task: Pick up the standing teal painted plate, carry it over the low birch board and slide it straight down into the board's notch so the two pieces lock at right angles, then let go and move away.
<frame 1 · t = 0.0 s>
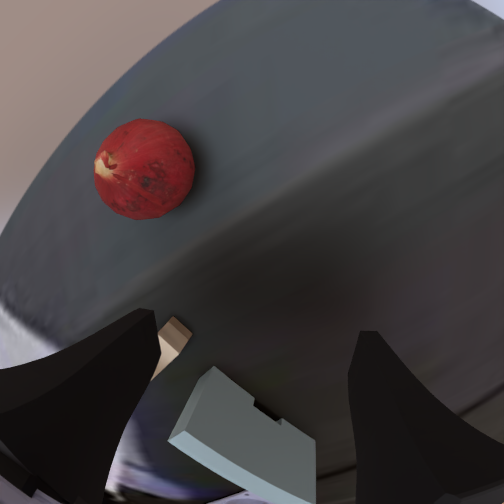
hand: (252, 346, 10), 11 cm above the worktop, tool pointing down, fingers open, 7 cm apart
teal plate: (260, 413, 23), on the worktop
onion: (170, 170, 20), on the worktop
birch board: (133, 375, 24), on the worktop
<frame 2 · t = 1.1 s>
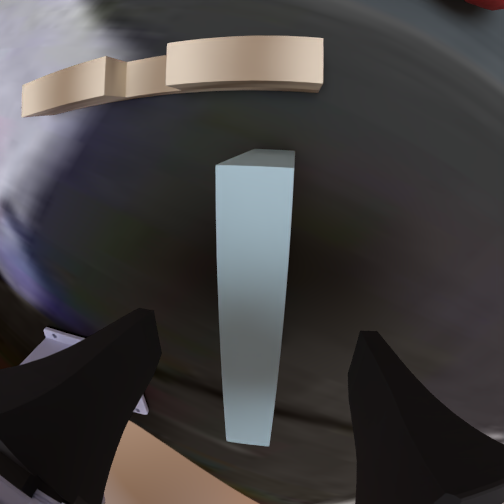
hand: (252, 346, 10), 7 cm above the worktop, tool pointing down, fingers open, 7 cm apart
teal plate: (270, 261, 17), on the worktop
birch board: (161, 77, 14), on the worktop
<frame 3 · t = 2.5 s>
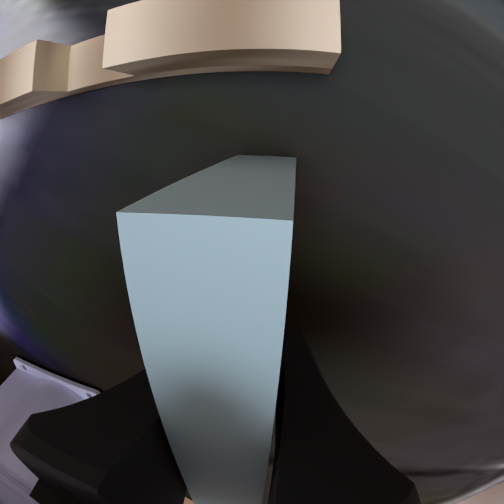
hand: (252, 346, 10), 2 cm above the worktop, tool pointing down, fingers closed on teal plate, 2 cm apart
teal plate: (261, 308, 12), on the worktop, touching gripper
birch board: (113, 62, 9), on the worktop
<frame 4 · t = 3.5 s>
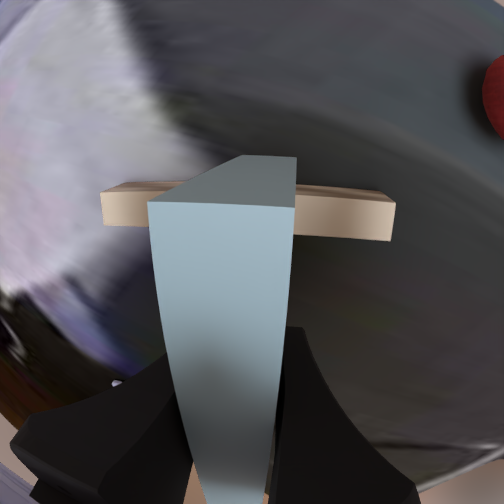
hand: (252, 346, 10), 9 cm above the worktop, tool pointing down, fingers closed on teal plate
teal plate: (263, 299, 13), point 6 cm above the worktop, touching gripper
onion: (492, 103, 13), on the worktop
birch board: (245, 198, 18), on the worktop
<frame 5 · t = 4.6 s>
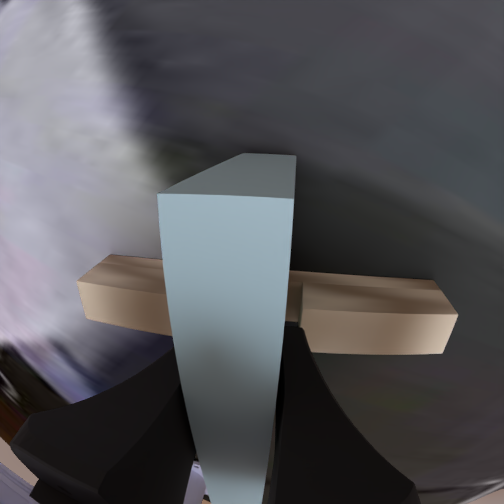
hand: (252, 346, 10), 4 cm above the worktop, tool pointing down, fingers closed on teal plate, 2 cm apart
teal plate: (264, 294, 13), point 1 cm above the worktop, touching gripper
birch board: (265, 288, 14), on the worktop
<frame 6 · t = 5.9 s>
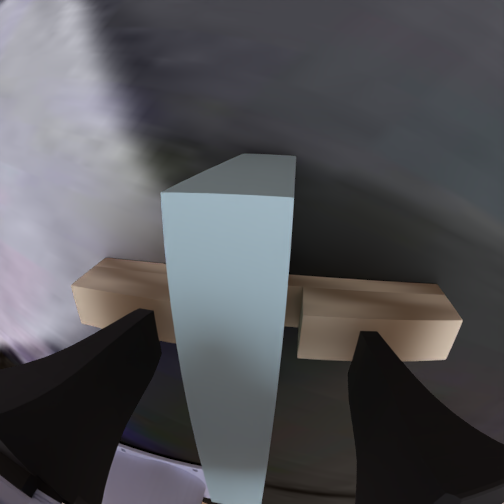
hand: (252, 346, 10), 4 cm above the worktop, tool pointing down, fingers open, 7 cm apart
teal plate: (264, 293, 14), on the worktop, touching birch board
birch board: (264, 292, 14), on the worktop
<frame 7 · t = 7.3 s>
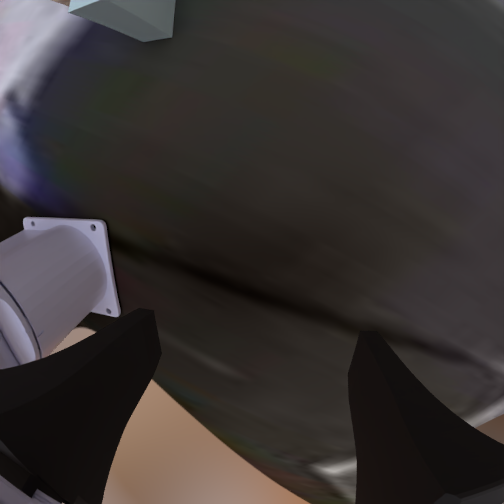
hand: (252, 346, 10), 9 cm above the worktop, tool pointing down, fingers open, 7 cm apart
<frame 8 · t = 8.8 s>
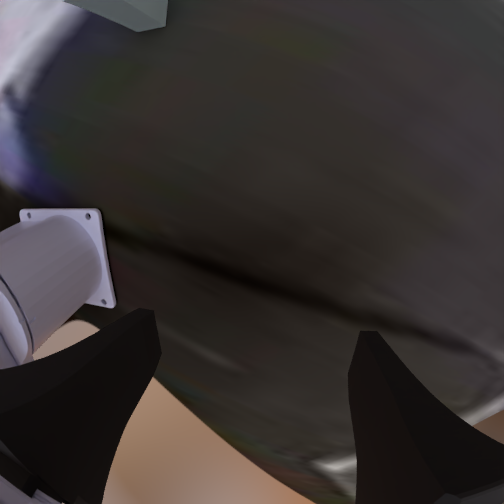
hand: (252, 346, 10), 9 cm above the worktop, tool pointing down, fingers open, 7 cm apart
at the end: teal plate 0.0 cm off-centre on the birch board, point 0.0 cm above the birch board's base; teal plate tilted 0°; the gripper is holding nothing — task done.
